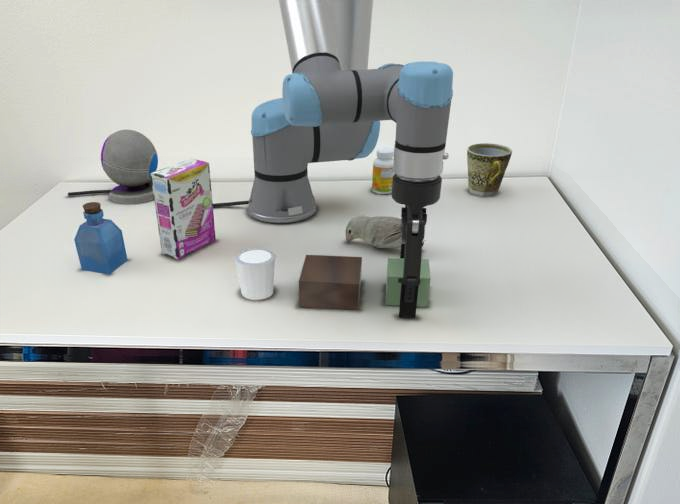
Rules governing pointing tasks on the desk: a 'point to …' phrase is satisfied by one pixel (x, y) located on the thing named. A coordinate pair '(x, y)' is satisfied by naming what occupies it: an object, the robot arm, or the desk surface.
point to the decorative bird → (376, 231)
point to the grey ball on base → (129, 166)
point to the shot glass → (256, 273)
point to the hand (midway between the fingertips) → (406, 296)
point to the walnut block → (330, 282)
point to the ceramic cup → (486, 167)
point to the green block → (394, 287)
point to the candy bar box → (184, 207)
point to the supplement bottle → (383, 171)
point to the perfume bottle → (99, 242)
